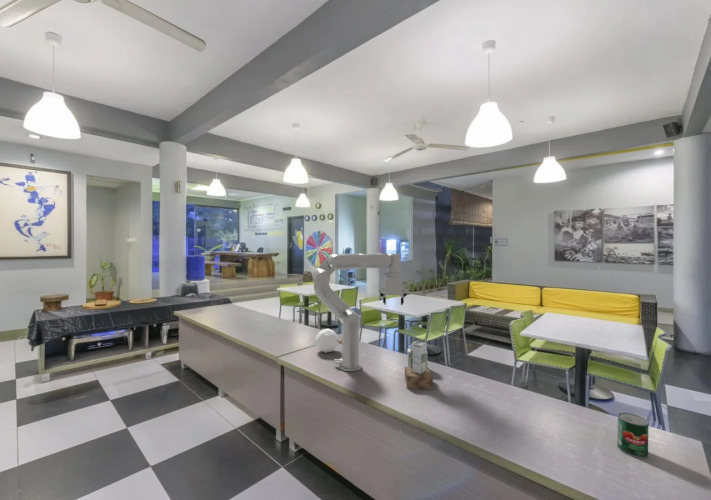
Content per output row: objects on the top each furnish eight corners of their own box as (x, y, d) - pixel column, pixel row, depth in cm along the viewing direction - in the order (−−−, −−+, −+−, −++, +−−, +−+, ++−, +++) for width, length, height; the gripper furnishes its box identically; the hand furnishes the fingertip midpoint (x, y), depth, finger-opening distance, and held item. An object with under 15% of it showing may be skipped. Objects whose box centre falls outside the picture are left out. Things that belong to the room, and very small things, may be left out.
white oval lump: (314, 351, 196) (346, 354, 198) (317, 326, 200) (348, 329, 203) (313, 351, 209) (343, 354, 212) (316, 327, 214) (345, 330, 217)
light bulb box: (426, 367, 180) (426, 348, 180) (427, 372, 174) (427, 352, 173) (407, 366, 181) (407, 347, 181) (407, 371, 175) (407, 351, 174)
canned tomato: (633, 443, 112) (633, 412, 112) (655, 458, 104) (655, 424, 104) (611, 443, 112) (611, 412, 112) (631, 458, 104) (632, 425, 104)
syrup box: (416, 368, 163) (416, 340, 163) (426, 371, 159) (427, 342, 159) (410, 371, 159) (410, 342, 159) (421, 374, 155) (421, 345, 155)
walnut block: (407, 388, 153) (407, 376, 153) (404, 378, 165) (404, 366, 165) (432, 389, 153) (432, 377, 153) (428, 379, 165) (428, 367, 165)
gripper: (378, 275, 182) (378, 305, 182) (409, 275, 181) (409, 306, 181) (378, 274, 190) (378, 303, 190) (407, 274, 189) (407, 303, 189)
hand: (393, 304), depth 186 cm, fingers open, 9 cm apart
